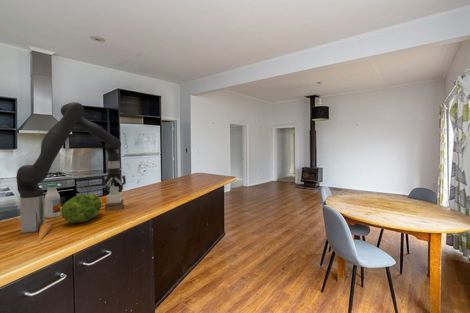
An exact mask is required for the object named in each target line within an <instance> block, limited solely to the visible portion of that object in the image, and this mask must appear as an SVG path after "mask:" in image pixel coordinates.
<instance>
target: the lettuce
mask: <svg viewBox="0 0 470 313" xmlns="http://www.w3.org/2000/svg"><path fill="white" fill-rule="evenodd" d="M102 205H103V201H102V199H101V198H100V197H99V196H98V195H96V194H92V193H82V194H76V195H75V196H73V197H71V198H70V199H67V200H66V201H65V202H64V203H63V205H62V207H61V216H62V218H63V219H64V220H65V221H66V222H67V223H69V224H70V223H71V224H78V223H83V222H87V221H89V220H91V219H93V218H94V217H96V216H97V215H98V214H99V213H100V211H101V208H102Z"/></svg>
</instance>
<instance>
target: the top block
mask: <svg viewBox="0 0 470 313" xmlns="http://www.w3.org/2000/svg"><path fill="white" fill-rule="evenodd" d="M122 200H123V193H122V192H119V194H118V195H110V193H108V194H107V195H106V202H107V203H118V202H121V201H122Z"/></svg>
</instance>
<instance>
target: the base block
mask: <svg viewBox="0 0 470 313" xmlns="http://www.w3.org/2000/svg"><path fill="white" fill-rule="evenodd" d="M123 208H124V199H122V201H121V202H118V203H107V201H106V202H105V204H104V209H105V211H119V210H122V209H123Z"/></svg>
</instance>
